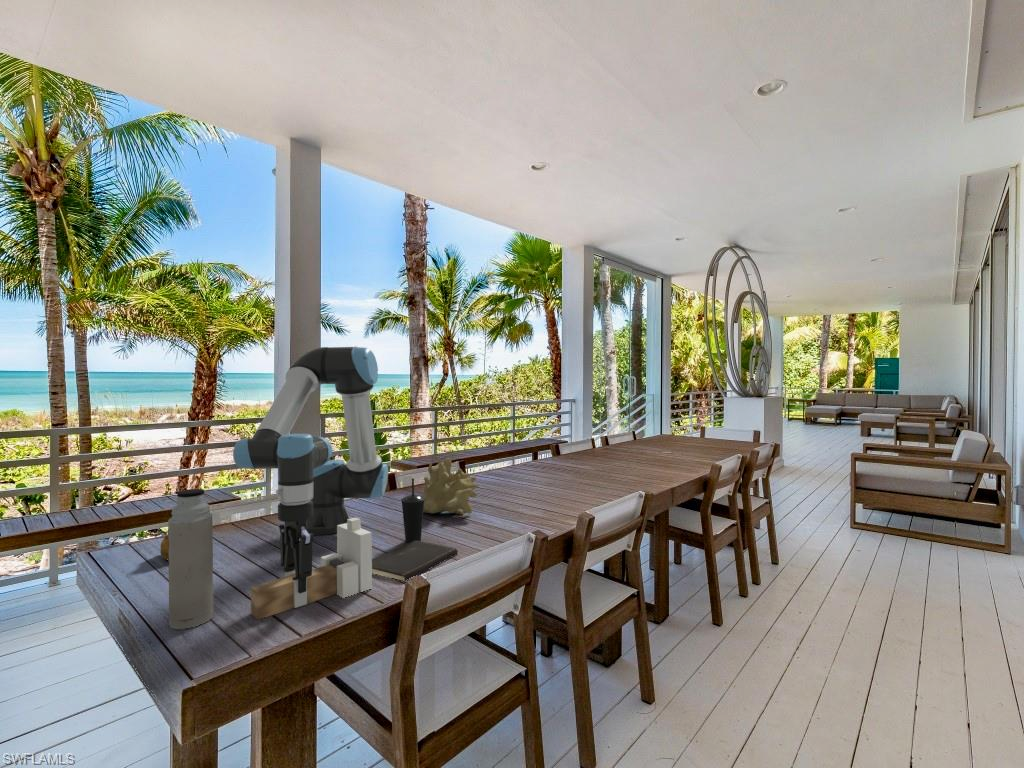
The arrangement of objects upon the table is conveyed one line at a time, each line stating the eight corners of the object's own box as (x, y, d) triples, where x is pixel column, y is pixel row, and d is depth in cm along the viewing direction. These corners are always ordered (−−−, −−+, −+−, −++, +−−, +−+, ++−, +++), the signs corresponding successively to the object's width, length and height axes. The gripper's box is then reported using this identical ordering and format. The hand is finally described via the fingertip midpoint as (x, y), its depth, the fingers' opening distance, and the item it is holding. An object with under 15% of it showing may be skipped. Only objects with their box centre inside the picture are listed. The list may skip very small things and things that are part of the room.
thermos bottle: (160, 630, 102) (159, 495, 102) (183, 612, 110) (181, 486, 110) (201, 628, 103) (199, 494, 102) (220, 610, 111) (219, 486, 110)
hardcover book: (359, 573, 133) (359, 564, 133) (415, 547, 154) (415, 540, 154) (405, 584, 126) (405, 575, 126) (457, 556, 146) (457, 548, 146)
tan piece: (257, 619, 106) (257, 587, 106) (251, 613, 109) (250, 582, 109) (344, 591, 121) (344, 562, 121) (337, 586, 124) (336, 558, 123)
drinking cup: (420, 545, 153) (419, 481, 153) (397, 544, 155) (396, 480, 155) (429, 538, 161) (428, 476, 161) (407, 536, 162) (406, 475, 162)
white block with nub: (320, 584, 125) (320, 519, 125) (348, 575, 130) (347, 513, 130) (343, 599, 116) (342, 529, 116) (372, 589, 122) (371, 522, 122)
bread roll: (158, 554, 147) (157, 527, 147) (196, 547, 153) (196, 521, 153) (162, 566, 137) (161, 538, 137) (203, 558, 143) (202, 531, 143)
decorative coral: (410, 476, 204) (455, 439, 199) (445, 513, 208) (490, 478, 203) (393, 506, 179) (444, 465, 174) (434, 547, 183) (485, 508, 178)
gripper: (264, 498, 117) (265, 596, 118) (294, 511, 106) (294, 620, 106) (296, 493, 123) (297, 587, 123) (328, 504, 111) (328, 608, 111)
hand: (296, 602), depth 114 cm, fingers closed on tan piece, 4 cm apart
